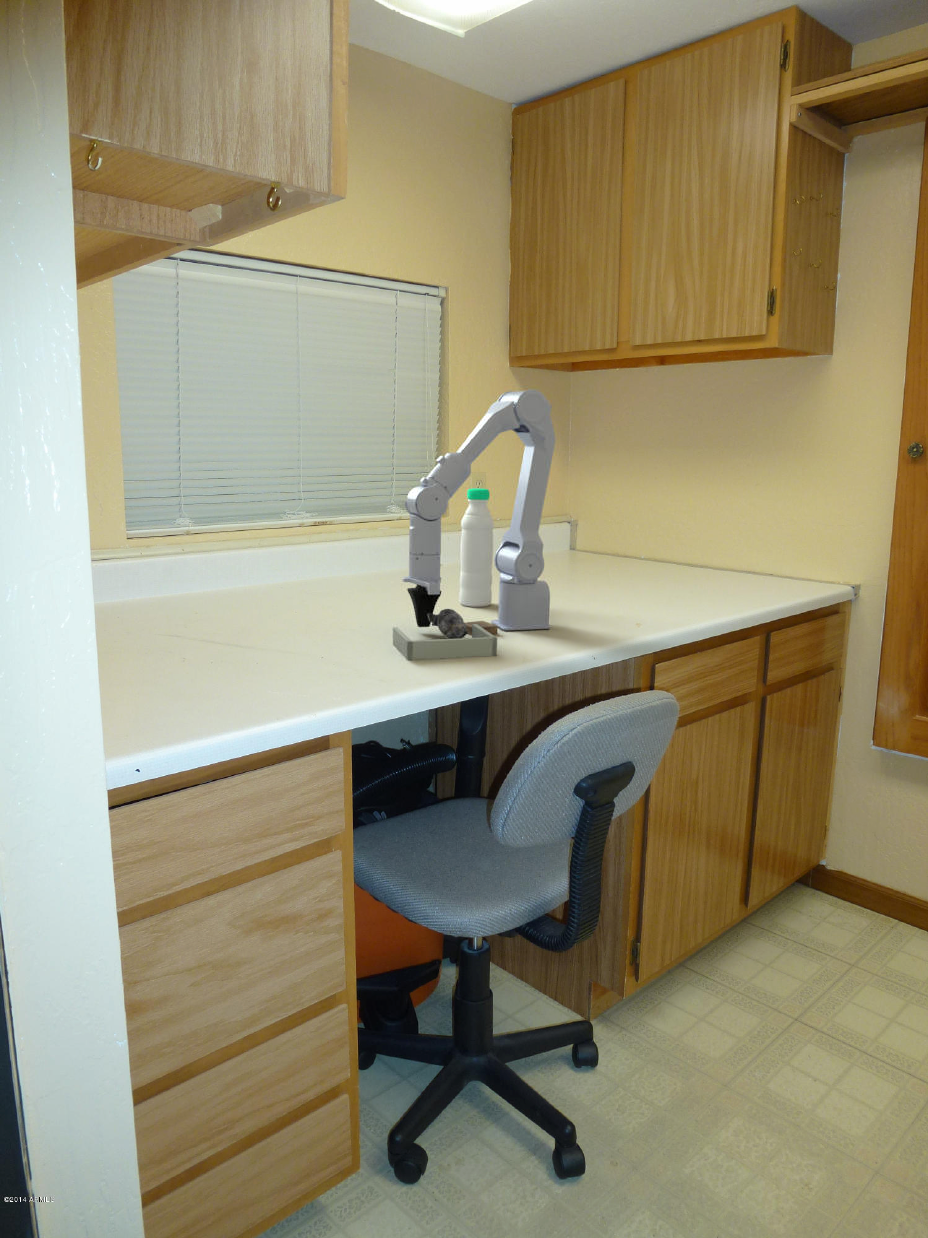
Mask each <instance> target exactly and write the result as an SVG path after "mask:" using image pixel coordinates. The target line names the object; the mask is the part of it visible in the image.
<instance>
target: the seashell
mask: <svg viewBox="0 0 928 1238" xmlns="http://www.w3.org/2000/svg"><path fill="white" fill-rule="evenodd" d="M427 615H428V619H429V621H430V622H431V626H433V627H437V628H438V630H439V632H440V633H441V634H442V635H443V636H444V637H446V639H460V638H464V637H466V636H467V635H468V634H467V633H468V631H467V629H466V624H465V623H466V622H465V621H464V618H463V616H461V614H459V613H458V612H457V611H455V610H454V609H452V608H445V609H444V608H443V609H442V610H440V612H439V613H438V614H436V613H433V614H431V613H428V614H427Z"/></svg>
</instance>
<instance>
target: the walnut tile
mask: <svg viewBox="0 0 928 1238" xmlns="http://www.w3.org/2000/svg"><path fill="white" fill-rule="evenodd" d="M464 623H465V624H466V629H467V631H468V633H467V634H466V635H468V636H471V637H472V624H477V625H479V626H480V627H482V628H483V629H485V630H486V631H488V632H489V633H491V634H492V635H494V636H495V635H498V628H499V627H498V626H497V625H495V624H493V623H492V622H488V621H484V620H477V621H467V622H464Z"/></svg>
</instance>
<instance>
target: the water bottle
mask: <svg viewBox="0 0 928 1238" xmlns="http://www.w3.org/2000/svg"><path fill="white" fill-rule="evenodd" d="M466 497H467V502H468V506H467V509H466V510H465V513H464V514H463V517H462V519H461V521H460V527H461V535H460V556H459V557H460V558H459V559H460V575H459V585H460V587H459V597H458V601H459V604H461V605H462V606H464V607H468V608H469V607H471V608H483V607H488V606H490V605H491V604H492V600H493V598H492V595H493V594H492V591H493V590H492V584H493V573H492V571H493V570H492V569H493V561H494V530H493V529H494V528H495V521H494V519H493V517H492V515H491V511H490V509H489V507H488V502H489V500H490V490H489V489H487V488H481V487H480V488H478V487H477V488H469V489H468V490H467V492H466Z"/></svg>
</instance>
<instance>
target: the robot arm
mask: <svg viewBox="0 0 928 1238" xmlns="http://www.w3.org/2000/svg"><path fill="white" fill-rule="evenodd" d="M551 413H552V404H551V403H550V402H549V401H548V399H547V398H546V396H545V395H544V393H542V392H541V391H539V390H537V389H531V388H530V389H527V390H519V391H510V390H509V391H506V392H504V393H502V394H501V395H500V396H499V397H498V399H497V401H495V402H493V403H492V404H491V405H490V406H489V408H488V409H487V412H486V413H485V414H484V416H483V417H482V419H481V420H480V421H479V422H478V423H477V425H476V426H475V427H474V429H473V430H472V431H471V432H470V433H469V435H468V437H467V438H466V439H465V441H463V443H462V444H461V445H460V447H459V448H458V450H457V451H456V452H447V453H446V454H445V455H440V456H439V457H438V458H437V459H436V463H437V464H436V465H435V466H434V468H433V469H432V470H431V471H430V472H429V473H428V474H427V476H426V477H422V478H421V479H420V481H419V482H420V484H421V485H418V486H416V487H413V488H412V489H411V490H410V491H409V492H408V495H407V497H406V498H407V499H406V500H404V507H405V511H406V512H407V513H408V514H409V533H408V534H409V536H408V537H409V539H408V541H409V542H408V544H409V545H408V546H409V547H408V576H402V577H401V578H402V579H401V580H402V582H403V583H410V584H414V585H416V586H415V587H409V588H406V590H407V592H408V594H409V597H410V599H411V602H412V605H413V610H414V611H413V612H414V615H415V621H416V625H417V627H418V628H429V627H430V626H431V625H432V622H430V621H429V619H428V615H427V614H428V613H431V614H434V611H435V607H436V605H437V603H438V600H439V599H440V597H441V595H442V590H441V583H442V577H441V561H442V560H441V557H442V556H441V551H442V549H441V546H442V538H441V537H442V516H443V515H445V514H446V512H447V509H448V505H449V504H448V502H449V501H450V500H451V498H452V497H453V496H454V495H455V494H456V492H458V490H459V489H460V488H461V486H463V484H464V483H465V482H466V481H467V480H468V478H469V477H470V476H471V474H472V464H473V462H474V461H475V460H476V459H477V458H478V457H479V456H480V455H481V454H482V453H483V452H484V451H485V449H487V448H488V446H489V445H490V444H492V442H493V441H494V440H495V439H496V438H497V437H498V436H499V435H500V434H501V433H505V432H508V431H513V432H514V433H515V434H516V435H517V436H518V438H519V439H520V440H521V441H522V443H523V444H524V451H523V456H522V461H521V467H520V470H519V471H520V473H519V479H518V484H517V489H516V495H515V499H514V505H513V511H512V515H511V522H510V527H509V529H508V530H507V531H506V532H505V533H504V535H503V536H502V539H501V544H500V546H499V547H498V549H497V550H496V552H495V555H494V557H493V561H494V566H495V568H496V570H497V571H498V572H499V581H498V582H499V583H498V584H499V586H498V611H497V613H498V614H497V616H498V617H497V619H491V620H490V623H491V624H494V625H497V626H498V628H499V629H501V630H502V631H521V630H522V631H526V630H545V629H546V630H547V629H551V625H550V608H551V607H550V606H551V605H550V604H551V603H550V602H551V592H550V587H549V583H547V581H545V580H538V579H539V578H540V577H541V576H542V574H543V572H544V568H545V559H544V555H543V550H544V543H543V541H542V538H541V536H540V533H539V530H540V525H541V520H542V516H543V515H542V514H543V510H544V502H545V500H546V499H545V498H546V493H547V487H548V482H549V476H550V472H551V467H552V461H553V456H554V451H555V450H554V449H555V446H556V434H555V430H554V429H555V428H554V424H553V421H552V417H551V415H552V414H551Z"/></svg>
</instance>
